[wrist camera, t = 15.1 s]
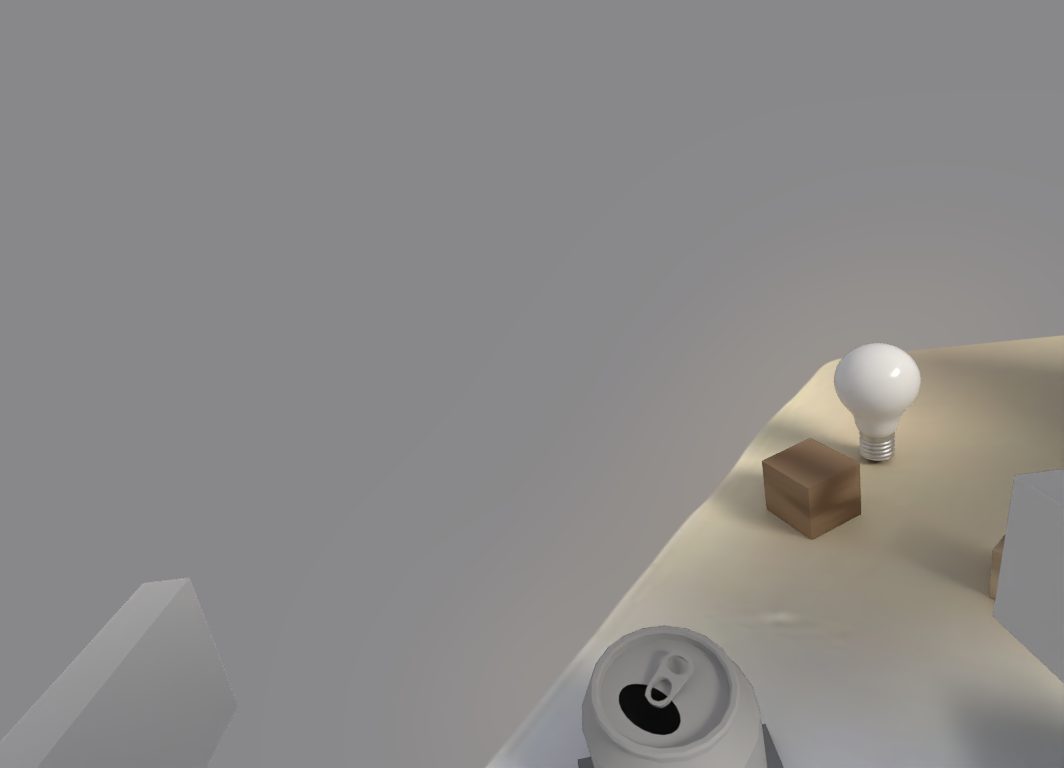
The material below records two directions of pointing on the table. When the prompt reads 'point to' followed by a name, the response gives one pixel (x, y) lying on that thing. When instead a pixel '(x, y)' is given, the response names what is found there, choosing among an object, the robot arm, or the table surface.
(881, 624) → the table surface
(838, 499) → the walnut block
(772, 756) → the coaster
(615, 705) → the can
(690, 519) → the table surface
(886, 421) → the lightbulb
